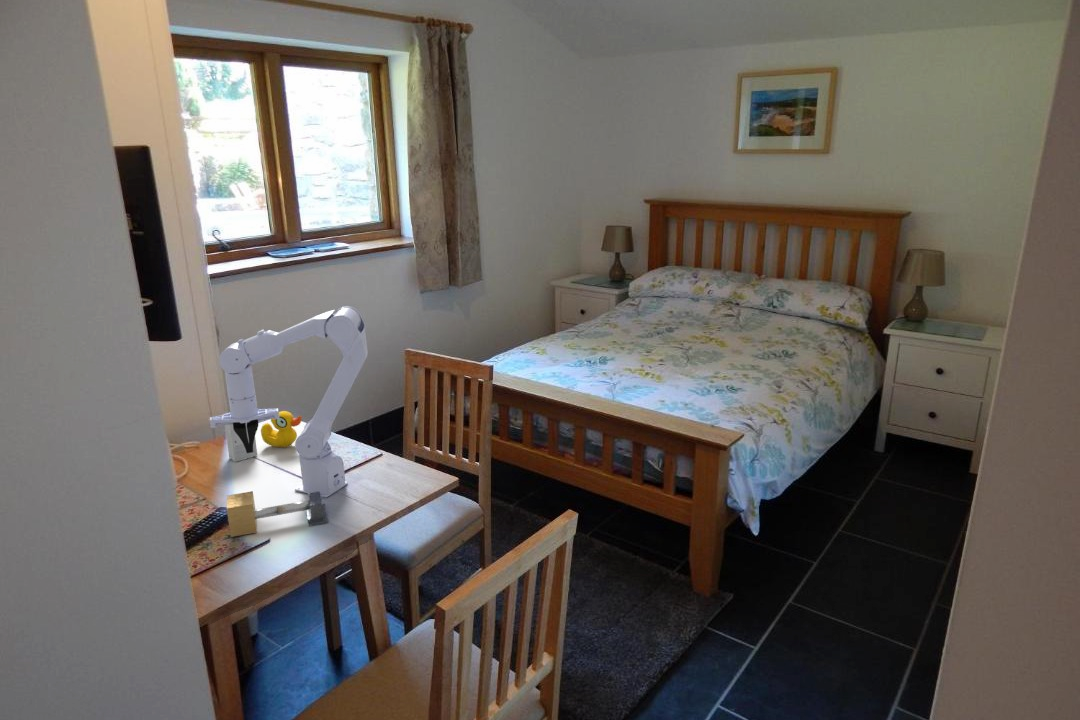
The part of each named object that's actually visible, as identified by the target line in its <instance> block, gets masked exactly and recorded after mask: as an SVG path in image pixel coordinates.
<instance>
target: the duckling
mask: <svg viewBox="0 0 1080 720" xmlns="http://www.w3.org/2000/svg"><path fill="white" fill-rule="evenodd" d="M302 419H303V418H302V416H301V415H298V416H297V417H296V418H294V416H293V414H292V413H291V412H289V411H286V410H283V411H279V419H270V422H271V424H272V425H273V427H274V428H275V429H276V430H275V429H274V428H273V427H272V425H271V424H270V423H268V422H267V423H264V424H263V425H262V426H261V427H260V433H261V434H260V435H261V437H262V440H263V442H264V443H265V444H266V445H269V446H270V447H275V448H282V449H284V448H285V449H286V448H288V447H291V445H293V443H295V442H296V439H297V438H298V434H297V431H296V430H295V428H294V427H297V426H299V425H300V424H301V422H302Z"/></svg>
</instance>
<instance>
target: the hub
mask: <svg viewBox="0 0 1080 720" xmlns="http://www.w3.org/2000/svg"><path fill="white" fill-rule="evenodd" d="M226 499H227V500H226V514H227V515H226V516H227V520H228V526H229V533H230V537H231V538H233V537H238V536H244V535H245V536H246V535H249V534H255V533H258V519H255V512H254V510H256V504H255V498H254V491H252V490H251V491H246V492H240V493H233V494H228V495H227V498H226Z"/></svg>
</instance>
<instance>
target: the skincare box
mask: <svg viewBox="0 0 1080 720" xmlns="http://www.w3.org/2000/svg"><path fill="white" fill-rule="evenodd" d="M228 413H229V412H226V413H223V414H222V415H224V414H228ZM224 430H225V436H226V437H225V438H226V444H227V445H226V446H227V451H228V452H227V453H228V458H229V459H231V460H232V461H233V463H237V462H240V461H243V460H248V459H251V458H254V457H253V456H255V457H257V456H258V449H257V442H256V437H255V438H254V443H253V452H252V453H247V452H246V449H245V447H244V444H243V443H242V441H241V439H240V438H239V436H238V435H237V434H236V433H235V431H234V429H233V424H230V425H224ZM246 430H247V423H246ZM247 437H248V432H247ZM248 441H249V438H248ZM256 455H257V456H256ZM247 458H248V459H247Z"/></svg>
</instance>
